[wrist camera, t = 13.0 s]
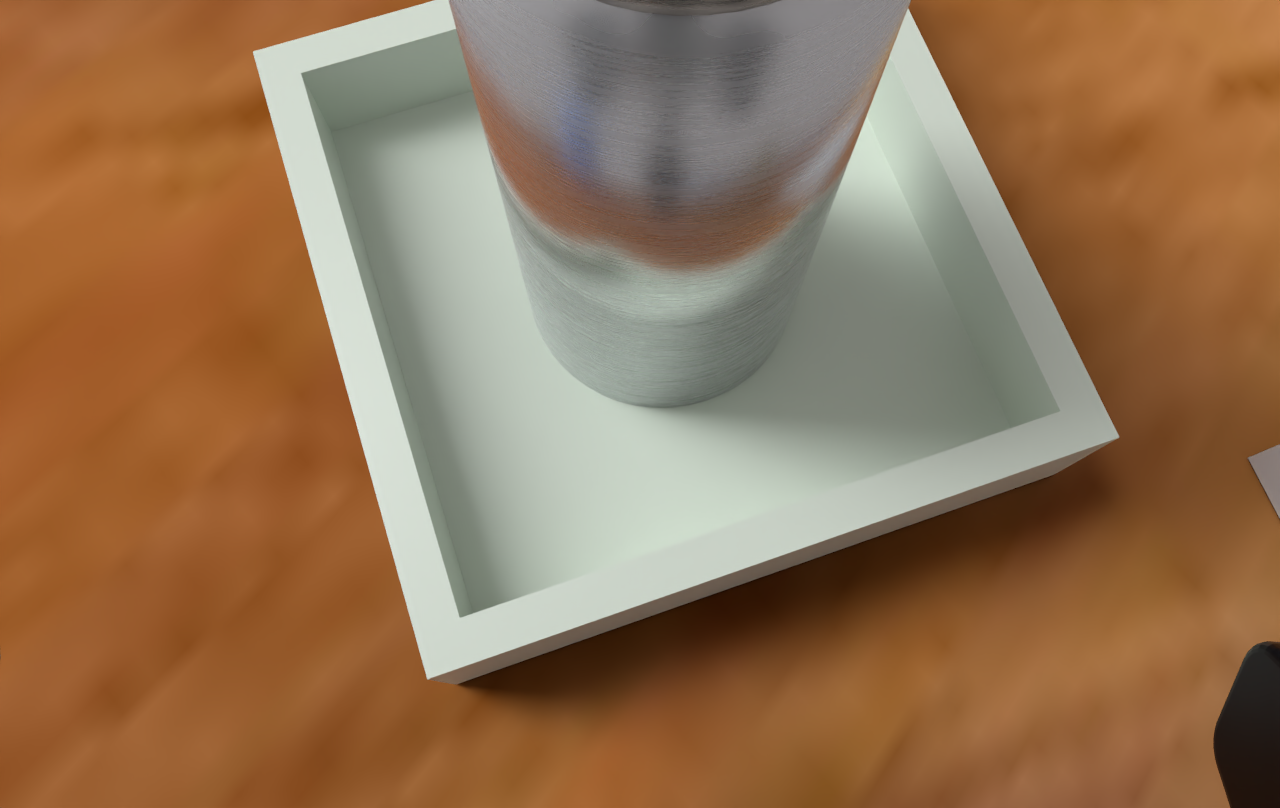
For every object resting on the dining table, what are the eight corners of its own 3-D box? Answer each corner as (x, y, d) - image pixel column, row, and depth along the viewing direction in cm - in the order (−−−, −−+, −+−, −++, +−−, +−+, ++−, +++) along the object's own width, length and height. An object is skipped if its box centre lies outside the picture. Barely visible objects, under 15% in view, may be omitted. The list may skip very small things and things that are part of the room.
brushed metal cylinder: (841, 247, 22) (1067, -266, 11) (701, 459, 21) (780, 143, 9) (624, 119, 23) (609, -485, 11) (475, 316, 22) (287, -140, 10)
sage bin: (1054, 474, 22) (1119, 437, 19) (456, 684, 20) (427, 678, 18) (822, -21, 25) (846, -116, 22) (298, 131, 24) (253, 51, 21)
